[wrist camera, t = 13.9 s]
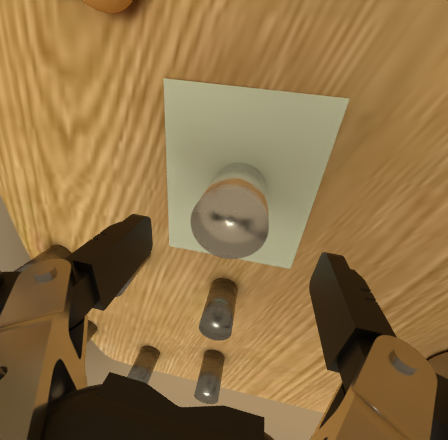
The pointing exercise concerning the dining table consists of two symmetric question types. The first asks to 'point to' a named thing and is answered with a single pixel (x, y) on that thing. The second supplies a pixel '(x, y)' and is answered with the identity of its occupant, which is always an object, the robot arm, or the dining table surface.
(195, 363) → the dining table surface
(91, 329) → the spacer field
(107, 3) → the figurine
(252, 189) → the clear rounded cylinder
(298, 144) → the sage mat
